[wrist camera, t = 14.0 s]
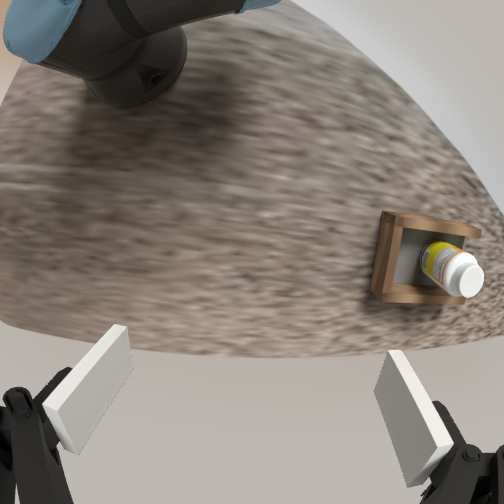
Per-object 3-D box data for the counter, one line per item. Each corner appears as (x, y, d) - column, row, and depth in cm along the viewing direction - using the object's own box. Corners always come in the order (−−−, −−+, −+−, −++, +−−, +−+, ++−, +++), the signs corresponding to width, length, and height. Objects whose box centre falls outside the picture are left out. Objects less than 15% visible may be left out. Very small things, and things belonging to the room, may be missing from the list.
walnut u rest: (463, 223, 37) (481, 229, 32) (449, 292, 40) (464, 304, 35) (382, 210, 37) (395, 216, 33) (369, 287, 40) (379, 301, 36)
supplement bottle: (453, 262, 37) (492, 287, 28) (425, 283, 39) (460, 313, 29) (442, 230, 36) (483, 249, 27) (412, 251, 38) (448, 276, 28)
